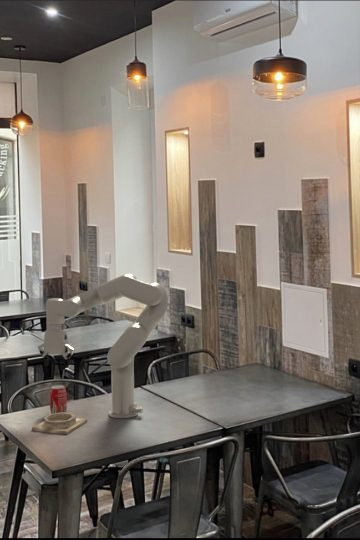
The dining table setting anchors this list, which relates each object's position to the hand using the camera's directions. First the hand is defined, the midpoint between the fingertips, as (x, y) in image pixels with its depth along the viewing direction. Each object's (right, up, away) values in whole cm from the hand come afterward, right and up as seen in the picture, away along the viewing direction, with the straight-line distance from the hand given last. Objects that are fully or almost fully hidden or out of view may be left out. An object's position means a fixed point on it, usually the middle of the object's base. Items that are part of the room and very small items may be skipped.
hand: (56, 366), depth 281 cm
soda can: (+1, -21, +2) cm, 21 cm away
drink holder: (+4, -22, -14) cm, 27 cm away
